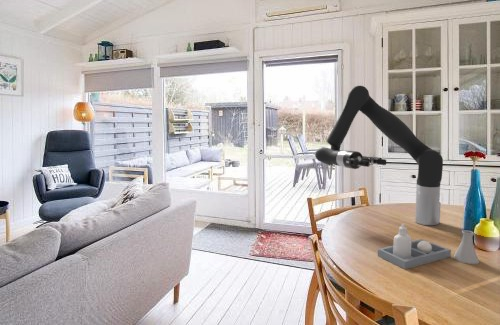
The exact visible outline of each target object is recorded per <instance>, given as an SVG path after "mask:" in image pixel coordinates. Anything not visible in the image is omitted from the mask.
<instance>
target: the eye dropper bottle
mask: <svg viewBox="0 0 500 325" xmlns="http://www.w3.org/2000/svg"><path fill="white" fill-rule="evenodd" d="M411 241H412V236H411V235H409V234H408V228H407V227H406V226H405V223H401V226H399V227H398V234H396V235H395V236H394V237H393V244H392V246H393V255H395V256H397V257H400V258H402V259H404V260H406V259H410V258H411Z"/></svg>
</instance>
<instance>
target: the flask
mask: <svg viewBox="0 0 500 325" xmlns="http://www.w3.org/2000/svg"><path fill="white" fill-rule="evenodd" d="M461 232H462V238H461V241H460V244H459V245H458V247H457V249H456V250H455V253H454V254H453V258H454V260H456V261H458V262H459V263H461V264H462V263H463V264H468V265H478V264H480V261H479V258H478V255H477V252H476V249H475V246H474V241H473V236H474V234H475V233H474V231H472V230H465V229H464V230H463V229H462V230H461Z"/></svg>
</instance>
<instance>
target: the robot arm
mask: <svg viewBox="0 0 500 325" xmlns="http://www.w3.org/2000/svg"><path fill="white" fill-rule="evenodd" d="M359 112H360V113H362V114H363V115H365V116H366V117H367V118H368V119H369V120H370V122H371V123H372V124H373V125H374V126H375V127H376V128H377V129H378V130H379V131H380V132H381V133H382V134H383V135H385V137H387V138H388V139H389V140H390V141H392V143H395V144H396V145H397V146H398V147H400V148H402V149H403V150H404V151H406V152H407V154H409V155H410V156H411V158H412V159H413V160H414V161H415V163H417V165H418V166H417V167H418V169H417V177H416V186H415V188H416V190H415V214H414V216H415V217H414V221H415V223H417V224H420V225H423V226H438V225H439V224H440V221H441V201H440V198H441V182H442V179H443V167H444V162H443V161H444V160H443V156H442V154H441V153H440V152H438V151H436V150H434V149H432V148H430V147H429V146H427V144H425V143H424V142H422V141H421V140H420V139H419V138H418V137H417V136H416V135H415V133H414V132H413V131H412V130H411V129H410V127H409V126H407V124H406V123H405V122H404V121H403V120H401V119H400V118H399V117H398V116H396V115H395V114H394V113H393V112H390V111H389V110H388V109H386V108H384V107H382V106H381V105H379V104H378V103H377V102H376V101H375V100H374V99H373V97H371V96H370V93H369V90H368V89H367V87H365V86H364V85H356V86H354V87H352V88H351V89H350V91H348V95H347V98H346V102H345V105H344V108H343V109H342V112H341V114H340V115H339V117H338V119H337V121H336V122H335V124H334V126H333V127H332V129H331V131H330V133H329V135H328V137H327V138H326V142H327V144H329V145H330V148H329V147H324V146H323V147H320V148H318V149H317V150H316V151H315V154H314V156H315V159H316V160H317V161H318V162H320V163H323V164H325V165H327V166H333V165H334V166H339V167H343V168H348V169H353V170H356V169H357V170H358V169H360V168H361V167H370V166H373V165H381V166H386V165H387V159H384V158H382V157H376V156H367V155H363V154H362V153H361V152H359V151H355V150H354V151H353V150H341V145H342V144H343V143H344V140H345V138H346V137H347V135H348V133H349V131H350V129H351V127H352V124H353V122H354V119H355V118H356V116H357V115H358V113H359Z"/></svg>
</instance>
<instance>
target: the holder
mask: <svg viewBox="0 0 500 325" xmlns="http://www.w3.org/2000/svg"><path fill="white" fill-rule="evenodd" d="M420 241H427V242H429V243H430V244H431V246H432V250H431V252H430V253H428V254H426V253H423V252H421V251H419V250H418V248H417V245H418V243H419V242H420ZM451 256H452V249H449V248H448V247H445V246H442V245H439V244H436V243H434V242H431V241H428V240H425V239H422V238H419V239H416V240H411V258H410V259H406V260H404V259H402V258H400V257H397V256H395V255H393V245H388V246H385V247H380V248H377V257H378V258H381V259H383V260H385V261H387V262H390V263H391V264H393V265H396V266H397V267H399V268H400V269H401V268H402V269H403V270H407V269H410V268H414V267H419V266H421V265H425V264H429V263H432V262H436V261H441V260H444V259H448V258H451Z"/></svg>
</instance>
